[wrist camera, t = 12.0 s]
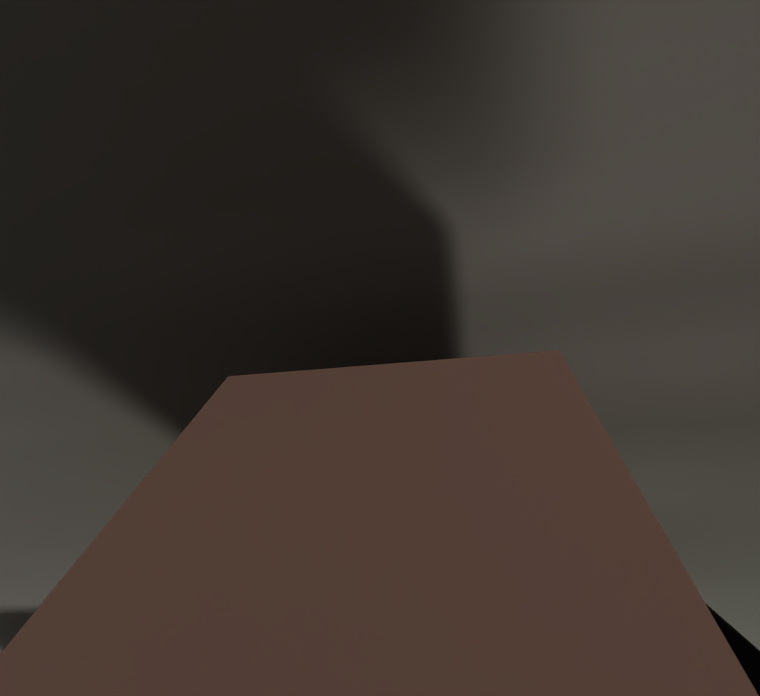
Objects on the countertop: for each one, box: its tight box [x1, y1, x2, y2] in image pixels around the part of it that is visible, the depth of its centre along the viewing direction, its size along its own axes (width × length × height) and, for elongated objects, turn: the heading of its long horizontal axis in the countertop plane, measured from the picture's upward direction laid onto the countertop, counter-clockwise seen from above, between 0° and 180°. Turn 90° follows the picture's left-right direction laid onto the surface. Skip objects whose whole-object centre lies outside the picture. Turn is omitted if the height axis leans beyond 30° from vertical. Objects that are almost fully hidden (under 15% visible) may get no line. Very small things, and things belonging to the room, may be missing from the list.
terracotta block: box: [0, 350, 759, 696], centre depth 6 cm, size 5×5×5 cm
